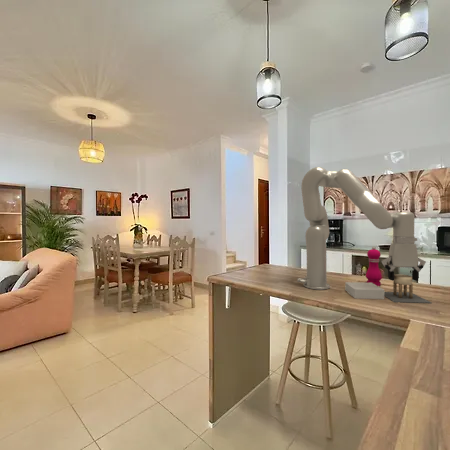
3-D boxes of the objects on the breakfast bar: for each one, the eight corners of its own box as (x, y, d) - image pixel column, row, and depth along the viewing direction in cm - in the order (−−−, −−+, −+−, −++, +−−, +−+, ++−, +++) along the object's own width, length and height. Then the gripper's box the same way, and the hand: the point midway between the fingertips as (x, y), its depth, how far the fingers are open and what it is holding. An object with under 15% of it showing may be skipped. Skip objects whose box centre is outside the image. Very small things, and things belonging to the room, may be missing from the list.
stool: (390, 294, 114) (390, 274, 114) (406, 294, 114) (406, 274, 113) (398, 298, 108) (398, 277, 108) (415, 299, 107) (415, 277, 107)
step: (354, 298, 110) (354, 289, 110) (345, 290, 122) (345, 282, 122) (384, 299, 109) (384, 289, 109) (371, 291, 121) (371, 282, 121)
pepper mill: (384, 286, 128) (384, 247, 127) (368, 286, 129) (368, 247, 129) (378, 283, 135) (378, 245, 134) (363, 282, 136) (363, 245, 136)
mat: (394, 302, 105) (394, 301, 105) (378, 292, 119) (378, 291, 119) (431, 303, 103) (431, 302, 103) (410, 293, 117) (410, 292, 117)
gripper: (419, 239, 113) (419, 278, 113) (378, 240, 115) (377, 277, 115) (431, 241, 105) (430, 282, 106) (386, 241, 107) (386, 281, 108)
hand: (403, 280), depth 111 cm, fingers open, 9 cm apart
